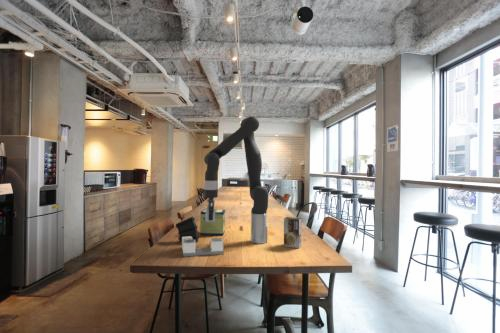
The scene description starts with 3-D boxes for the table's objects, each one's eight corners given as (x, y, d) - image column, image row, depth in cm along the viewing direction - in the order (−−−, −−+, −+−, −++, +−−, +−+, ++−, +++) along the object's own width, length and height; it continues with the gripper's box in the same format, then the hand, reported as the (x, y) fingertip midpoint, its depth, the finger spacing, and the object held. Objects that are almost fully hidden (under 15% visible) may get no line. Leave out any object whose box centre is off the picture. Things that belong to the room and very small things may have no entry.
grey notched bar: (221, 249, 141) (221, 237, 141) (223, 254, 134) (223, 241, 134) (183, 252, 136) (183, 239, 136) (183, 256, 129) (183, 243, 129)
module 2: (214, 219, 148) (214, 208, 148) (215, 221, 144) (215, 209, 144) (205, 220, 147) (205, 208, 147) (205, 221, 143) (206, 209, 143)
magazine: (201, 240, 152) (191, 217, 153) (182, 249, 154) (172, 225, 155) (203, 239, 156) (193, 215, 157) (184, 247, 158) (174, 224, 159)
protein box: (223, 235, 171) (223, 212, 171) (199, 235, 171) (200, 211, 171) (225, 231, 181) (225, 209, 181) (202, 231, 181) (203, 209, 181)
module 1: (190, 246, 146) (191, 236, 146) (192, 249, 142) (192, 237, 142) (181, 247, 144) (181, 237, 144) (183, 250, 140) (183, 238, 140)
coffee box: (301, 245, 151) (302, 217, 151) (299, 248, 145) (299, 219, 145) (286, 243, 155) (286, 216, 155) (283, 246, 149) (283, 218, 149)
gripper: (219, 189, 140) (218, 221, 139) (216, 187, 153) (215, 216, 153) (204, 189, 138) (204, 222, 138) (203, 187, 152) (202, 217, 152)
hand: (210, 219), depth 146 cm, fingers closed on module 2, 4 cm apart
